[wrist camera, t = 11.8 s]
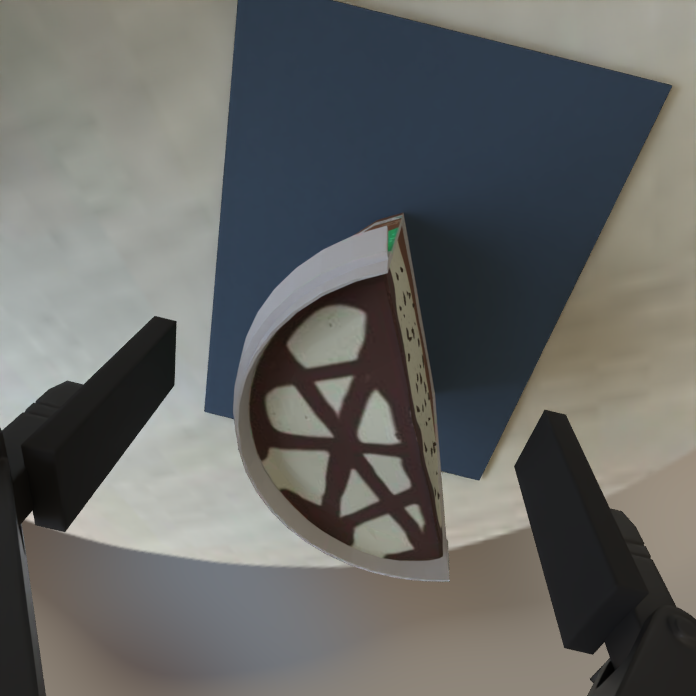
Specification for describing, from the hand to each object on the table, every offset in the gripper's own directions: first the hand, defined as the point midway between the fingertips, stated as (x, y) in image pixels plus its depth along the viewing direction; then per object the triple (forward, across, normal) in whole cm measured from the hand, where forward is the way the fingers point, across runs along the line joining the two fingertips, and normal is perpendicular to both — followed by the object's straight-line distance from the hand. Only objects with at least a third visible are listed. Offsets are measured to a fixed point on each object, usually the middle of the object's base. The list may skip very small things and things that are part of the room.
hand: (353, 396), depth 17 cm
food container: (+7, 0, 0) cm, 7 cm away
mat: (+7, 0, +2) cm, 7 cm away
